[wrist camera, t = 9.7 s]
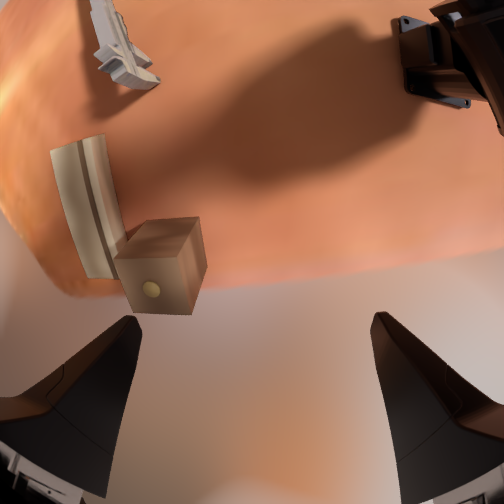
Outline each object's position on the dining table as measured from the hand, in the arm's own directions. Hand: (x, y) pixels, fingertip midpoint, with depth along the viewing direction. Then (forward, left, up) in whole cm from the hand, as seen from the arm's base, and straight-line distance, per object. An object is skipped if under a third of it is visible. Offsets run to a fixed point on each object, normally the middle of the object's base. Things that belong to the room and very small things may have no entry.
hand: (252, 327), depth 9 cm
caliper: (+10, -19, -12) cm, 25 cm away
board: (+14, -1, -12) cm, 18 cm away
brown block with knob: (+7, +3, -12) cm, 14 cm away
